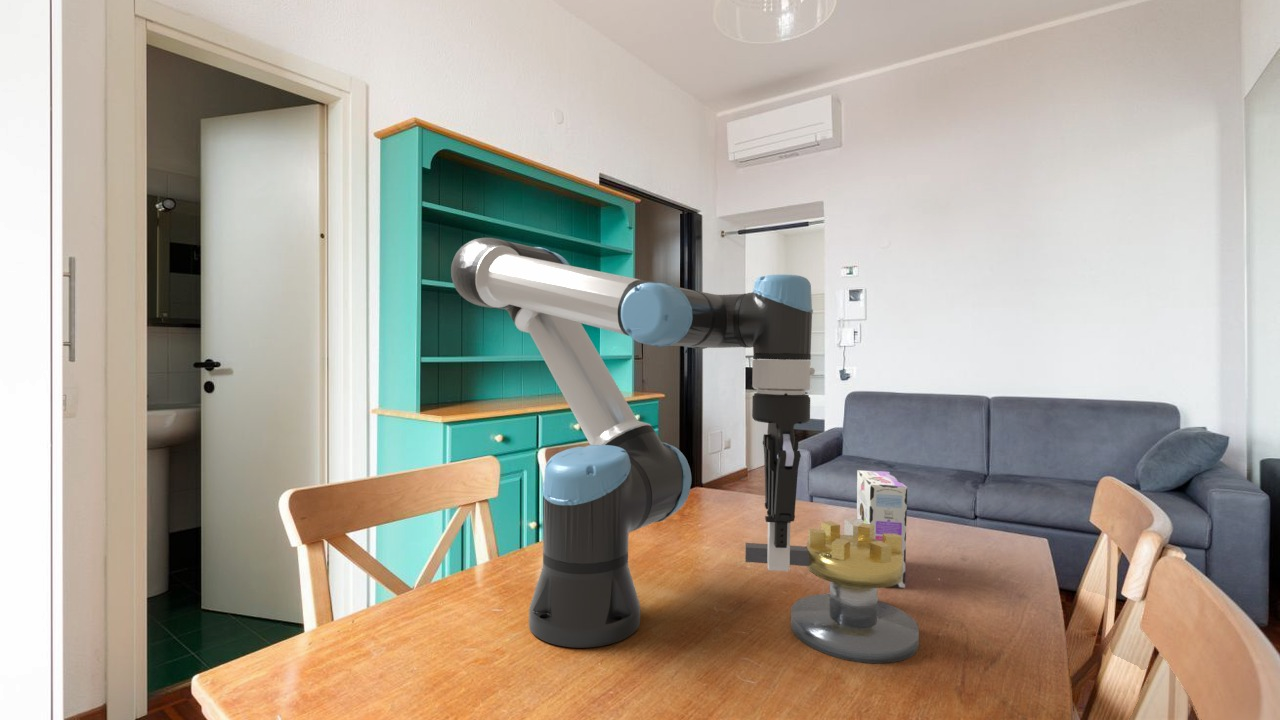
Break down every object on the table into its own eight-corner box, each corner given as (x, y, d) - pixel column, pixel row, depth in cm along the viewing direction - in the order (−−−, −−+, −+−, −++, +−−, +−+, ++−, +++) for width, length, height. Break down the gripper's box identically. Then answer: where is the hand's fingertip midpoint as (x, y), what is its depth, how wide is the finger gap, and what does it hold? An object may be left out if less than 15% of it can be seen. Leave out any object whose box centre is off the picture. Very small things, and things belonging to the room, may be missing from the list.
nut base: (807, 661, 72) (809, 562, 72) (774, 594, 92) (775, 517, 92) (941, 665, 71) (943, 565, 71) (879, 597, 91) (880, 519, 91)
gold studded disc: (746, 579, 76) (746, 540, 76) (744, 549, 88) (745, 515, 88) (914, 591, 73) (915, 550, 73) (889, 558, 84) (890, 523, 84)
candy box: (906, 589, 95) (908, 486, 95) (867, 586, 96) (869, 484, 96) (888, 560, 108) (890, 470, 108) (854, 557, 110) (856, 468, 109)
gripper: (822, 395, 73) (819, 588, 73) (798, 390, 86) (796, 554, 86) (760, 394, 73) (757, 586, 73) (746, 389, 86) (743, 552, 86)
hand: (778, 569), depth 79 cm, fingers closed
